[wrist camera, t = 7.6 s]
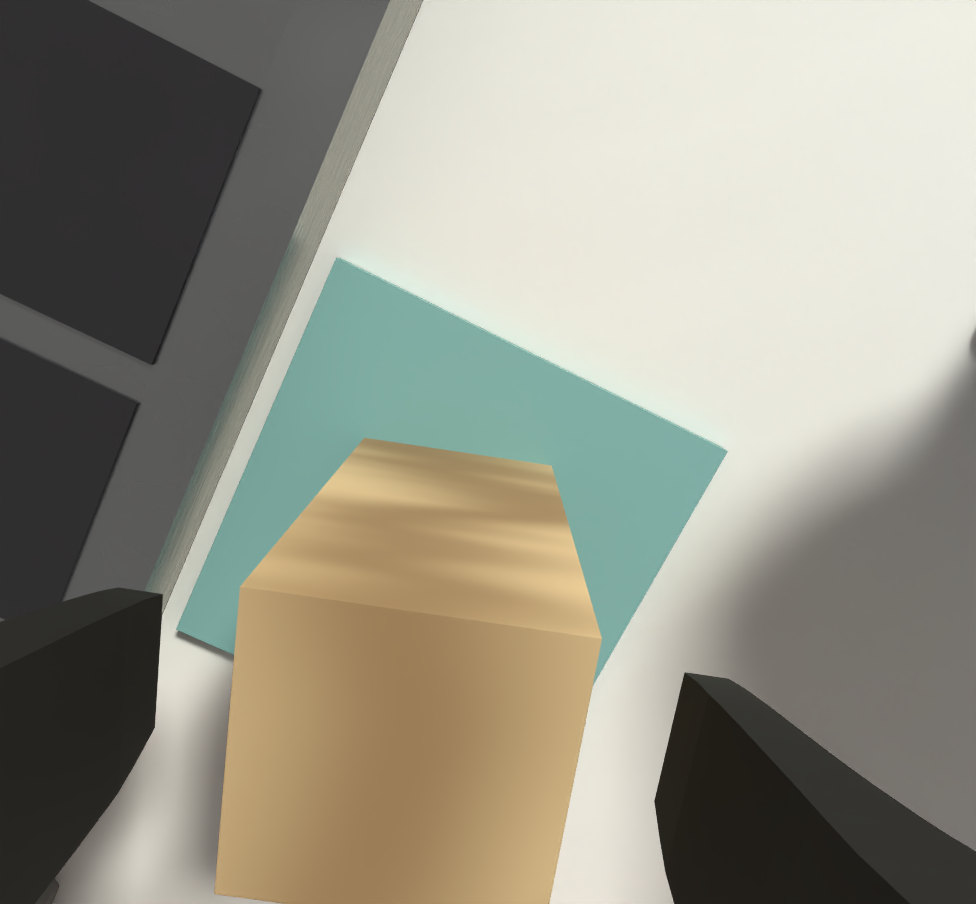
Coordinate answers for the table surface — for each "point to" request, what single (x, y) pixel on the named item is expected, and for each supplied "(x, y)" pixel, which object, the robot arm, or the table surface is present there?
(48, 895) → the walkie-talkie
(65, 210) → the rack frame
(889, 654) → the table surface
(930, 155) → the table surface
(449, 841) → the oak peg
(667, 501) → the teal mat
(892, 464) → the table surface
